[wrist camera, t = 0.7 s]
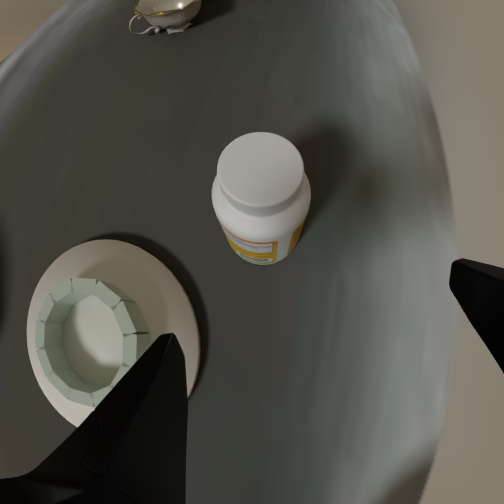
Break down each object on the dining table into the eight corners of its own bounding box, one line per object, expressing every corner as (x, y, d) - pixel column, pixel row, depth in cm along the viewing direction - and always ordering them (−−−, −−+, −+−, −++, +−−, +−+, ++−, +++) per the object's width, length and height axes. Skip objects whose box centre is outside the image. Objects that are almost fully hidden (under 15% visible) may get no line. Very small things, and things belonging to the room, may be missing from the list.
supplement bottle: (277, 185, 24) (282, 105, 14) (312, 244, 23) (342, 188, 13) (214, 216, 23) (183, 148, 14) (247, 278, 22) (233, 243, 13)
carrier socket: (139, 471, 19) (123, 488, 15) (13, 353, 21) (-11, 354, 18) (242, 314, 22) (238, 312, 18) (88, 210, 24) (68, 194, 21)
